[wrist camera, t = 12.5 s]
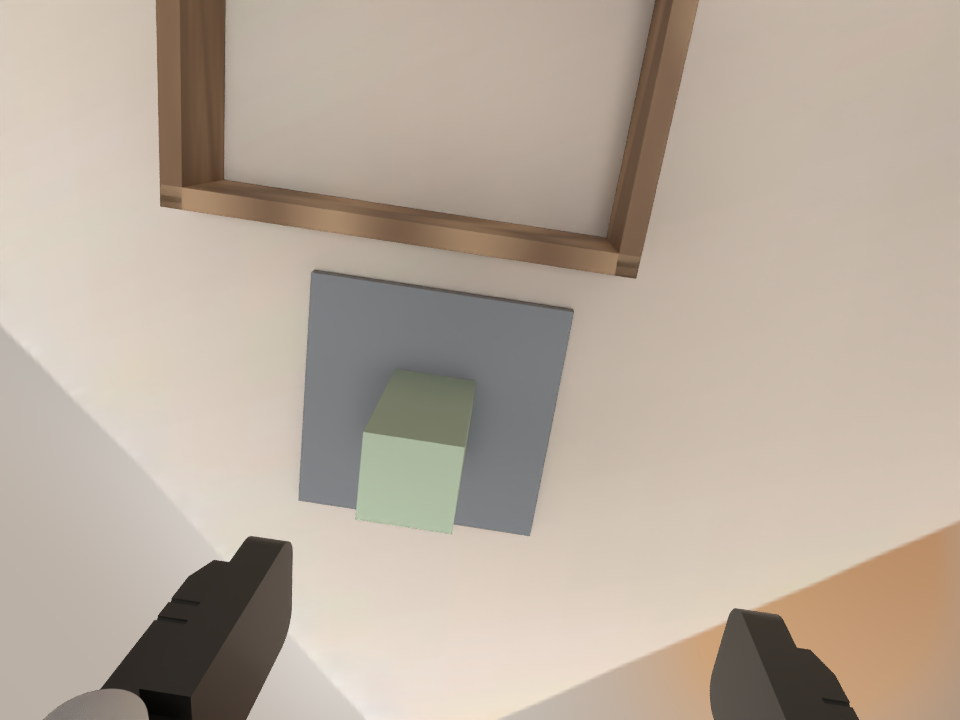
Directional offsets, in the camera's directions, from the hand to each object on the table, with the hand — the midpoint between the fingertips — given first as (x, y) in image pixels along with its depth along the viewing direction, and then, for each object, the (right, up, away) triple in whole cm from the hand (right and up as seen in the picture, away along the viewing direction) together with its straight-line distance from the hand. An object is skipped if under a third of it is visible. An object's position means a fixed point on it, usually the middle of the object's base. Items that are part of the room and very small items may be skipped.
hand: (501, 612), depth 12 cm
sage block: (-3, +2, +25) cm, 25 cm away
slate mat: (-3, +2, +26) cm, 26 cm away
